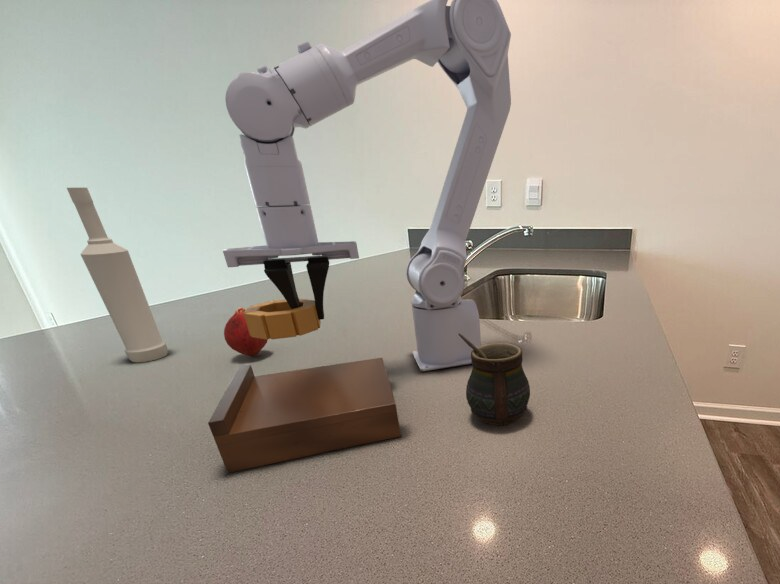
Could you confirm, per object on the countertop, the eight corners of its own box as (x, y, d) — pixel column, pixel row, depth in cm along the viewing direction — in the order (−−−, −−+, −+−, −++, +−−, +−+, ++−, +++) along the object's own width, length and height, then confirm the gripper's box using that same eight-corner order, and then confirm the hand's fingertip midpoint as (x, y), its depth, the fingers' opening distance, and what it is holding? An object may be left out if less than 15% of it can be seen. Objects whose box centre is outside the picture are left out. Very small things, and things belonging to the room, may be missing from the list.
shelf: (387, 384, 55) (380, 346, 53) (400, 436, 43) (393, 390, 41) (253, 407, 50) (239, 366, 48) (227, 473, 38) (207, 422, 36)
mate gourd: (536, 428, 44) (537, 341, 40) (467, 436, 43) (460, 347, 39) (524, 398, 51) (523, 320, 46) (463, 404, 50) (456, 325, 45)
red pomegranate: (255, 364, 63) (239, 313, 59) (223, 362, 64) (206, 312, 60) (281, 351, 68) (268, 303, 64) (251, 349, 69) (237, 302, 66)
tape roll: (321, 317, 57) (316, 296, 56) (319, 334, 51) (314, 310, 49) (257, 324, 55) (250, 302, 54) (246, 342, 48) (238, 318, 47)
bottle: (121, 360, 65) (41, 188, 55) (157, 349, 70) (89, 188, 59) (141, 364, 64) (62, 187, 53) (176, 353, 68) (110, 187, 57)
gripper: (201, 209, 42) (241, 335, 48) (350, 204, 47) (370, 319, 52) (218, 207, 48) (252, 319, 54) (348, 203, 52) (366, 307, 58)
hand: (310, 318), depth 53 cm, fingers closed on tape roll, 2 cm apart
